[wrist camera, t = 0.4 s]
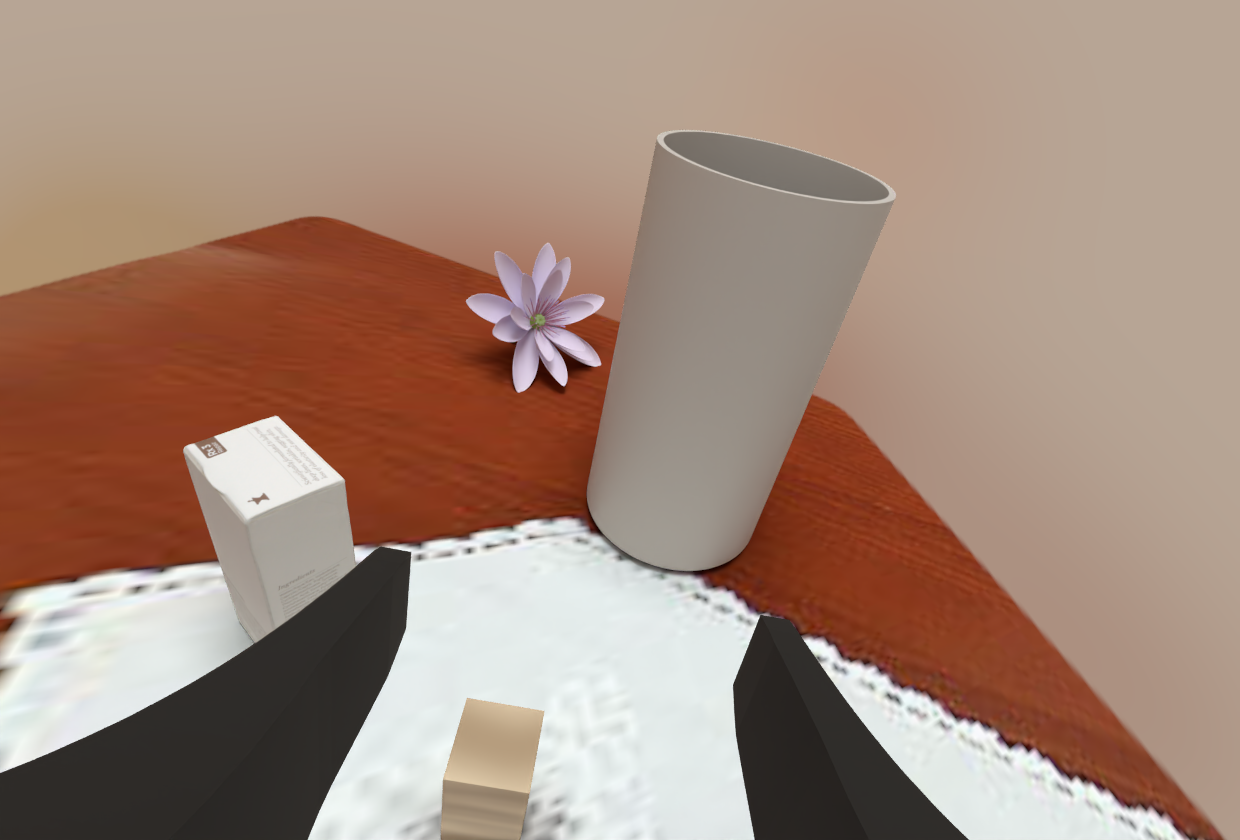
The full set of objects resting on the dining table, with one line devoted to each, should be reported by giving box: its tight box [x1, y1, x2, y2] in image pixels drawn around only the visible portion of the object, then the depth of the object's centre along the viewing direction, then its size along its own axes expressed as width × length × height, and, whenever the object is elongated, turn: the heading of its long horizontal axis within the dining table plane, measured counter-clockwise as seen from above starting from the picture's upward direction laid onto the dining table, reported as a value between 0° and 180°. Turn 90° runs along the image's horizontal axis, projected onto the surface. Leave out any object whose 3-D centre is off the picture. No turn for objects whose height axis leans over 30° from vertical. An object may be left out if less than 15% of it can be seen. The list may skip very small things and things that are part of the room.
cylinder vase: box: [587, 130, 896, 571], centre depth 39 cm, size 12×12×25 cm
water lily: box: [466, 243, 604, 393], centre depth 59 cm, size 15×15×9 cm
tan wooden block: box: [441, 698, 544, 840], centre depth 25 cm, size 3×3×8 cm
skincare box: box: [183, 416, 356, 643], centre depth 30 cm, size 6×4×12 cm
